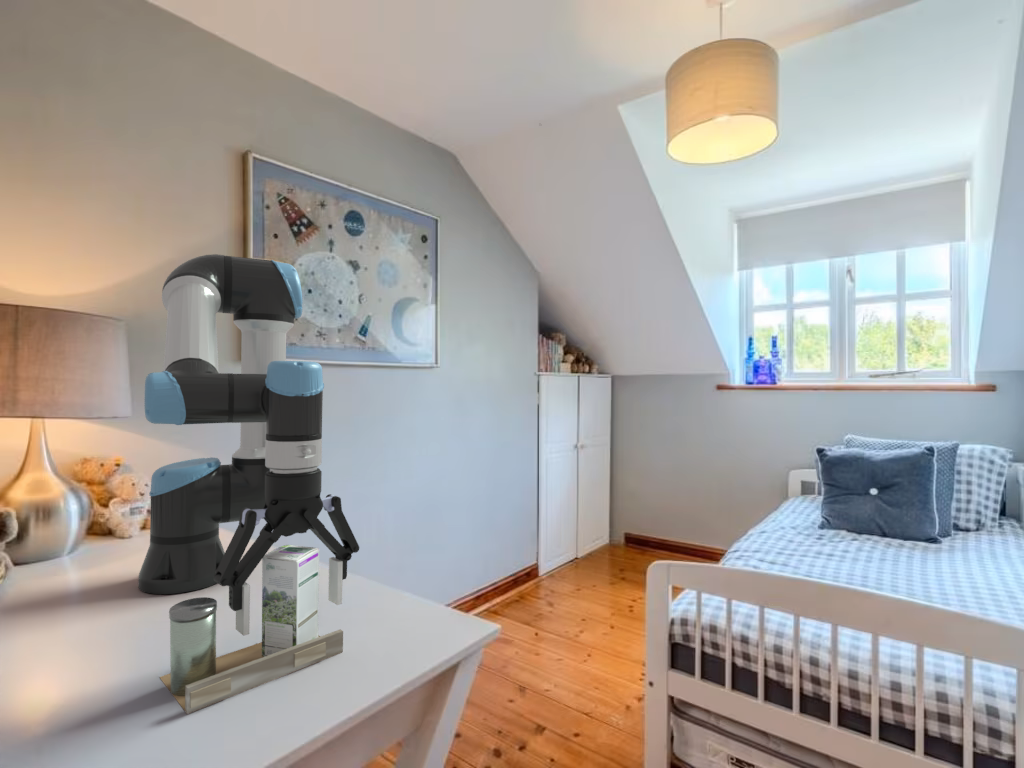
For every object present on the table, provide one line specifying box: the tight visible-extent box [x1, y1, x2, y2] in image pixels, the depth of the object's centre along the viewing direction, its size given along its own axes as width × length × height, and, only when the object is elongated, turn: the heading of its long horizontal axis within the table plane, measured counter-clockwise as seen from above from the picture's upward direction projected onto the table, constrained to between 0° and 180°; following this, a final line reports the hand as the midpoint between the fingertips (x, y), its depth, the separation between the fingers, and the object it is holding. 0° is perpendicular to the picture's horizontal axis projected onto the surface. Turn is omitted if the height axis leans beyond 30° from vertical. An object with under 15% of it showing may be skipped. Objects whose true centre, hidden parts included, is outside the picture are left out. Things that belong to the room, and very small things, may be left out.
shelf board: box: [159, 629, 344, 715], centre depth 74 cm, size 11×20×4 cm, turn 137°
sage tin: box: [168, 596, 218, 696], centre depth 69 cm, size 5×5×10 cm
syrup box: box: [261, 544, 320, 657], centre depth 78 cm, size 6×6×14 cm
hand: (291, 616), depth 78 cm, fingers open, 13 cm apart
